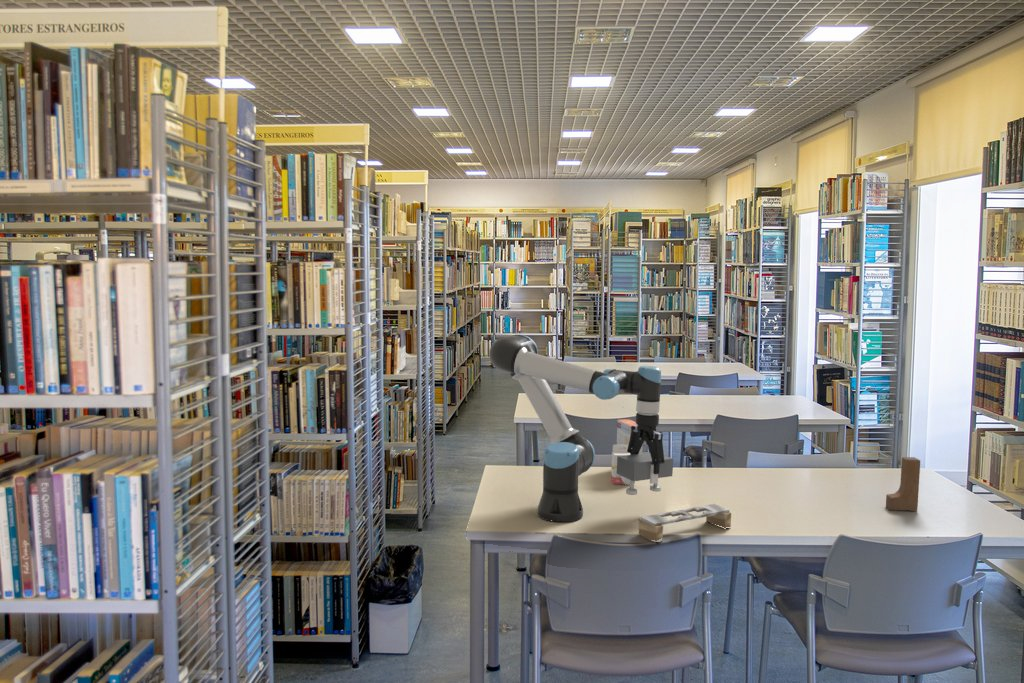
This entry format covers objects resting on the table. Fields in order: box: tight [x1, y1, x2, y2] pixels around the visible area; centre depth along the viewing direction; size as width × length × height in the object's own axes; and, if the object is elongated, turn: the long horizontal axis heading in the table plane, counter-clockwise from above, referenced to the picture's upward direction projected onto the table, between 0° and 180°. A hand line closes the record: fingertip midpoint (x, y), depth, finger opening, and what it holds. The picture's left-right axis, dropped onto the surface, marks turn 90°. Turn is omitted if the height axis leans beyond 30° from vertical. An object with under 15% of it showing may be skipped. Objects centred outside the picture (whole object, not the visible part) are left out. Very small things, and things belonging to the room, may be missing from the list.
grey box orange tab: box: [617, 452, 674, 496], centre depth 251 cm, size 16×9×12 cm, turn 118°
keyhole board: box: [638, 503, 732, 541], centre depth 235 cm, size 30×8×6 cm, turn 118°
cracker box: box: [616, 418, 643, 454], centre depth 303 cm, size 14×6×21 cm, turn 13°
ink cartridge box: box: [610, 444, 636, 486], centre depth 289 cm, size 9×5×15 cm, turn 92°
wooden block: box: [885, 456, 921, 512], centre depth 260 cm, size 9×4×18 cm, turn 86°
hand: (644, 478), depth 251 cm, fingers closed on grey box orange tab, 9 cm apart
